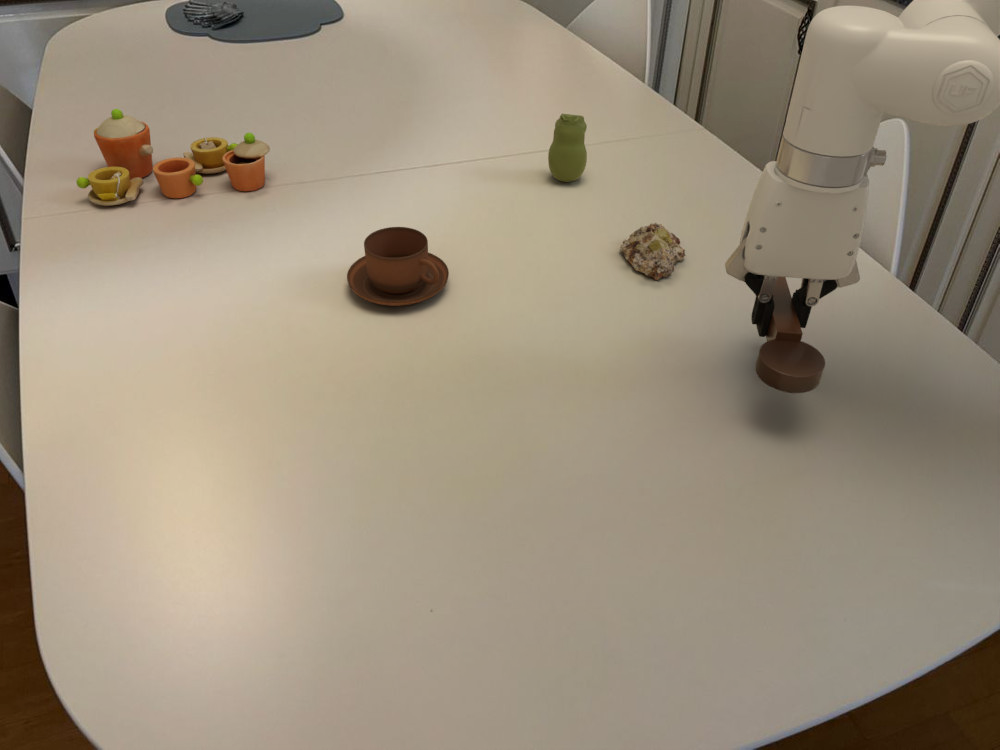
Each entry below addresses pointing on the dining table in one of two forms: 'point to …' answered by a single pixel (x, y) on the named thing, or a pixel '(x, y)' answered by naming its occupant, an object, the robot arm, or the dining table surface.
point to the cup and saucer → (397, 268)
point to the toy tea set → (167, 163)
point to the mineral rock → (653, 250)
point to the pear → (568, 148)
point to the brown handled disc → (787, 349)
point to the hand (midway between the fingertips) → (776, 329)
